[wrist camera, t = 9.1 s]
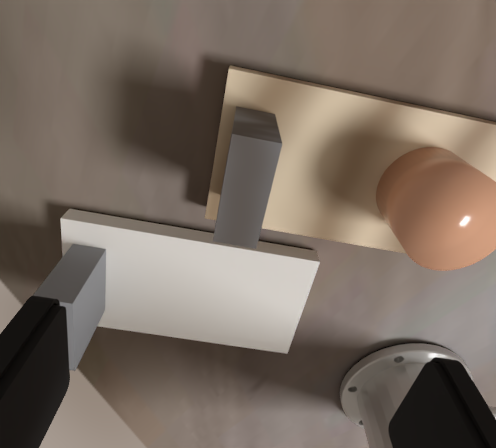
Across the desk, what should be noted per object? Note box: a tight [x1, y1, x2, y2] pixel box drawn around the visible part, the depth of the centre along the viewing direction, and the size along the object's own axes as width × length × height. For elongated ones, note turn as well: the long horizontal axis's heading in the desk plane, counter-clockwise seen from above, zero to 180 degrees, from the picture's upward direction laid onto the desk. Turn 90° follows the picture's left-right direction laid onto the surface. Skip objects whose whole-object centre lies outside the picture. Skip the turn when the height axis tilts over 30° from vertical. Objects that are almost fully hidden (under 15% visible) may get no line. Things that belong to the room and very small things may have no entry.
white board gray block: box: [33, 209, 320, 371], centre depth 28 cm, size 19×10×8 cm, turn 79°
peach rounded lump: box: [376, 147, 496, 271], centre depth 23 cm, size 6×6×5 cm
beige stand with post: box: [205, 65, 496, 253], centre depth 23 cm, size 19×10×8 cm, turn 79°
